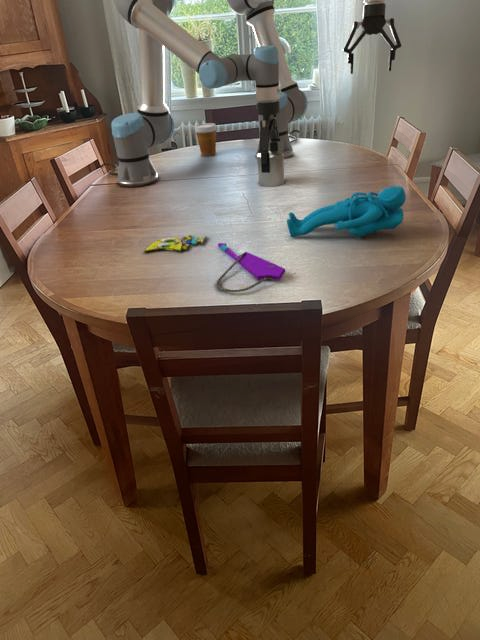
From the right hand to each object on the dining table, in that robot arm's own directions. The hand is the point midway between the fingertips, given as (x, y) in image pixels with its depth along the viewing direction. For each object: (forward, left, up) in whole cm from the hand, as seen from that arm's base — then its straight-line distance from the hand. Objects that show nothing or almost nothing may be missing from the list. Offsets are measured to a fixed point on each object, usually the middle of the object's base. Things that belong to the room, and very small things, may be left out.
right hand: (370, 72), depth 177 cm
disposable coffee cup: (-12, -66, -29) cm, 73 cm away
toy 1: (+84, -61, -29) cm, 107 cm away
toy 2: (+80, -16, -29) cm, 87 cm away
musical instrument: (+100, -42, -29) cm, 113 cm away
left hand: (+32, -37, -24) cm, 54 cm away
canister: (+32, -37, -29) cm, 57 cm away
